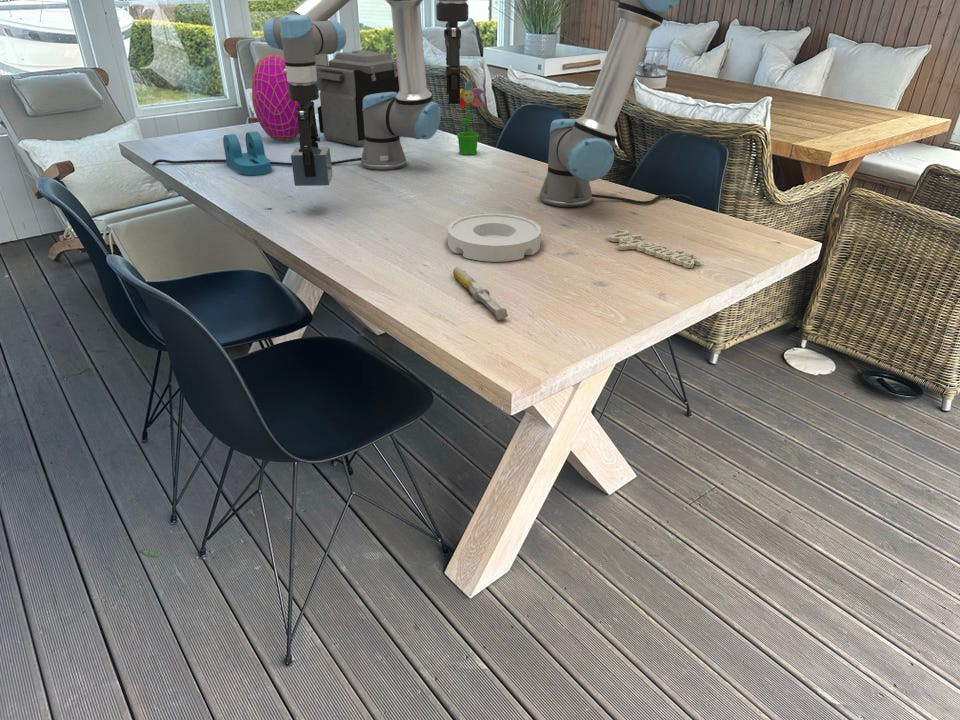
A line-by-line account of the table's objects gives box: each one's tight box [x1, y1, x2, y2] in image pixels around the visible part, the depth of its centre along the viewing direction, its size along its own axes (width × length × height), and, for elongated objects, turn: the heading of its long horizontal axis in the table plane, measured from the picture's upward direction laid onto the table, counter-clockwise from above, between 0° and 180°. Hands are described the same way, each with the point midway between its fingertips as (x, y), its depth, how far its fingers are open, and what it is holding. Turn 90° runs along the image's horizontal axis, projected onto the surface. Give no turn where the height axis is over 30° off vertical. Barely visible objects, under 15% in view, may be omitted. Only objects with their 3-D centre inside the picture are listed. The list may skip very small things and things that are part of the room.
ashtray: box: [447, 213, 542, 263], centre depth 170 cm, size 23×23×4 cm
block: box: [290, 146, 334, 187], centre depth 186 cm, size 9×9×8 cm
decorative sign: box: [609, 229, 701, 269], centre depth 168 cm, size 26×1×10 cm
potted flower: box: [456, 80, 485, 156], centre depth 244 cm, size 9×8×25 cm
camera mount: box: [222, 131, 272, 176], centre depth 226 cm, size 18×10×10 cm, turn 35°
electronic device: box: [315, 49, 399, 147], centre depth 265 cm, size 37×22×30 cm, turn 144°
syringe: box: [452, 266, 509, 321], centre depth 145 cm, size 25×4×3 cm, turn 21°
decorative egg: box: [251, 54, 299, 142], centre depth 257 cm, size 19×19×30 cm
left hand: (313, 171), depth 187 cm, fingers closed on block, 9 cm apart
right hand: (453, 98), depth 170 cm, fingers open, 13 cm apart
